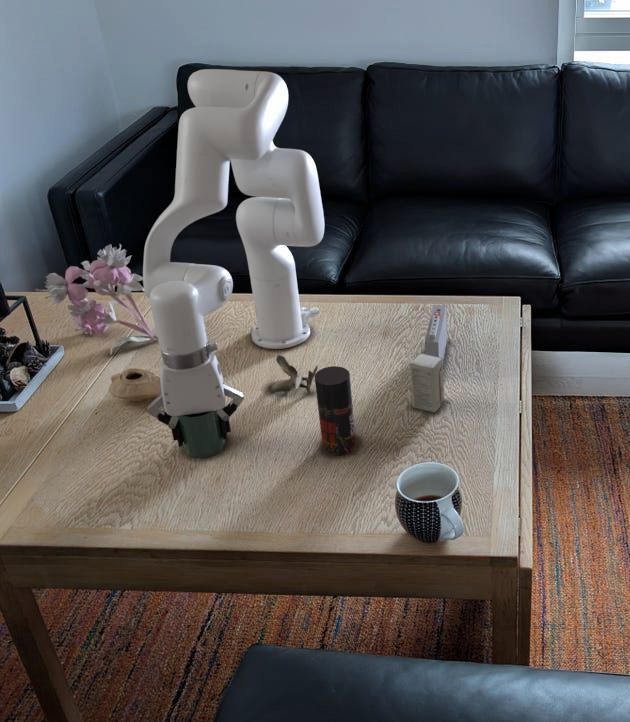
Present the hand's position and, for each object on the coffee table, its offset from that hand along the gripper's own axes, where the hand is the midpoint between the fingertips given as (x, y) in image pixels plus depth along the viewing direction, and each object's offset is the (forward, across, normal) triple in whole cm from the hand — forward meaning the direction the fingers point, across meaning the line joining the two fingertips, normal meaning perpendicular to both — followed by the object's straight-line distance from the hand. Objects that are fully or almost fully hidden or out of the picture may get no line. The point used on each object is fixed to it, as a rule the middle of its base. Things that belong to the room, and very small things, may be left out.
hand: (203, 438), depth 148 cm
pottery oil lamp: (+2, +12, -19) cm, 22 cm away
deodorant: (+2, -23, +6) cm, 24 cm away
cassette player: (+2, -47, -18) cm, 50 cm away
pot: (+2, 0, 0) cm, 2 cm away
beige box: (+2, -42, -3) cm, 42 cm away
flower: (+2, +21, -45) cm, 50 cm away
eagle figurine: (+2, -17, -15) cm, 22 cm away
